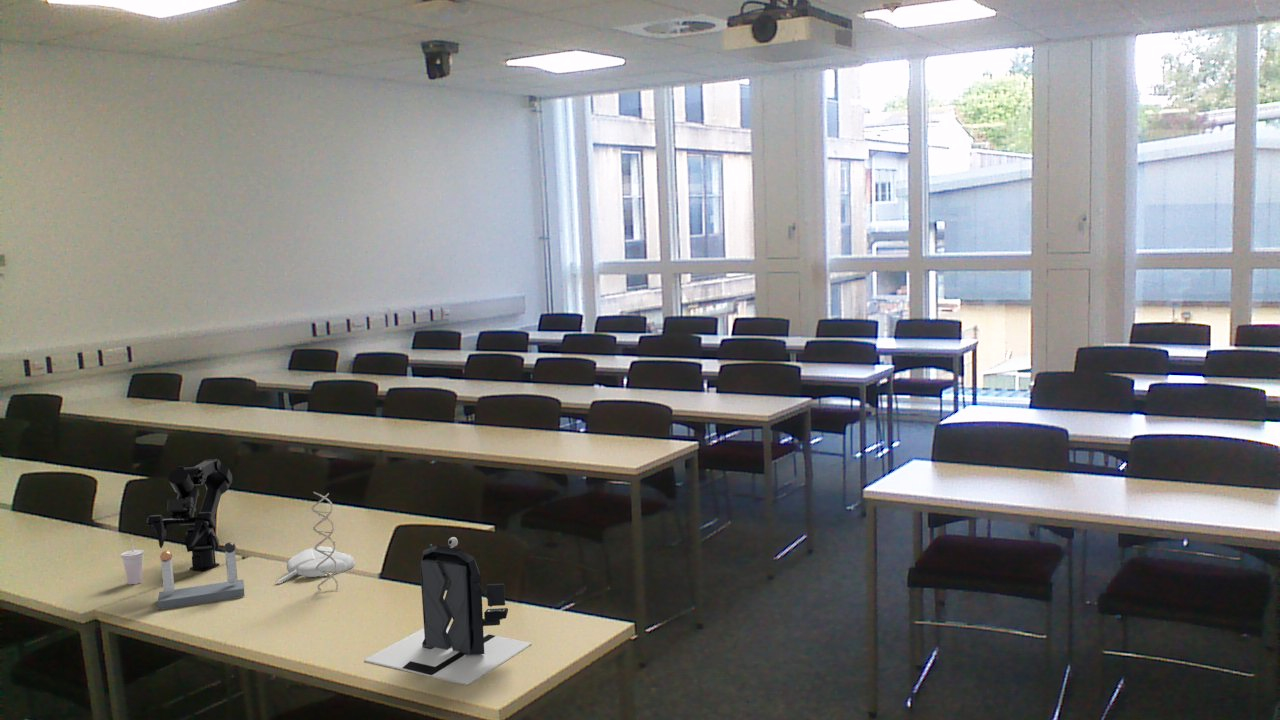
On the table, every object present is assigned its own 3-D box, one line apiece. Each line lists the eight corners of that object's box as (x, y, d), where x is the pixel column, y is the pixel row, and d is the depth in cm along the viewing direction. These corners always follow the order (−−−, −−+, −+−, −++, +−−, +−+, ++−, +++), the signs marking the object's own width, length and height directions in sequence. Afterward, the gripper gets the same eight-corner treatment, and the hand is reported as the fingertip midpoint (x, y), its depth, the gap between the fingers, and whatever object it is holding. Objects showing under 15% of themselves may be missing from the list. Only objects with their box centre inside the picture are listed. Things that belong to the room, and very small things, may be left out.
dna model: (312, 593, 287) (304, 494, 283) (326, 585, 293) (319, 489, 289) (330, 595, 284) (322, 495, 281) (344, 588, 290) (337, 490, 287)
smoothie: (150, 579, 305) (146, 536, 303) (138, 586, 298) (134, 542, 297) (131, 579, 305) (127, 536, 304) (119, 586, 299) (114, 542, 297)
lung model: (361, 565, 311) (296, 596, 291) (327, 558, 321) (261, 588, 301) (358, 546, 310) (292, 576, 290) (324, 540, 320) (258, 568, 300)
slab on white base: (364, 662, 236) (356, 549, 233) (433, 625, 259) (426, 522, 255) (468, 686, 221) (461, 565, 218) (531, 645, 243) (526, 535, 240)
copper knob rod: (165, 590, 283) (161, 549, 282) (176, 589, 284) (173, 549, 282) (161, 594, 280) (157, 553, 279) (173, 593, 280) (169, 552, 279)
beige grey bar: (225, 582, 289) (222, 542, 287) (236, 579, 291) (233, 540, 289) (228, 584, 286) (225, 544, 285) (239, 582, 288) (236, 542, 287)
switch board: (160, 600, 285) (159, 591, 285) (244, 587, 294) (243, 579, 294) (158, 610, 277) (157, 601, 277) (244, 596, 286) (243, 588, 285)
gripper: (146, 489, 294) (134, 534, 284) (210, 486, 296) (200, 530, 286) (158, 509, 302) (147, 553, 292) (220, 505, 304) (211, 549, 294)
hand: (176, 546), depth 291 cm, fingers open, 9 cm apart
